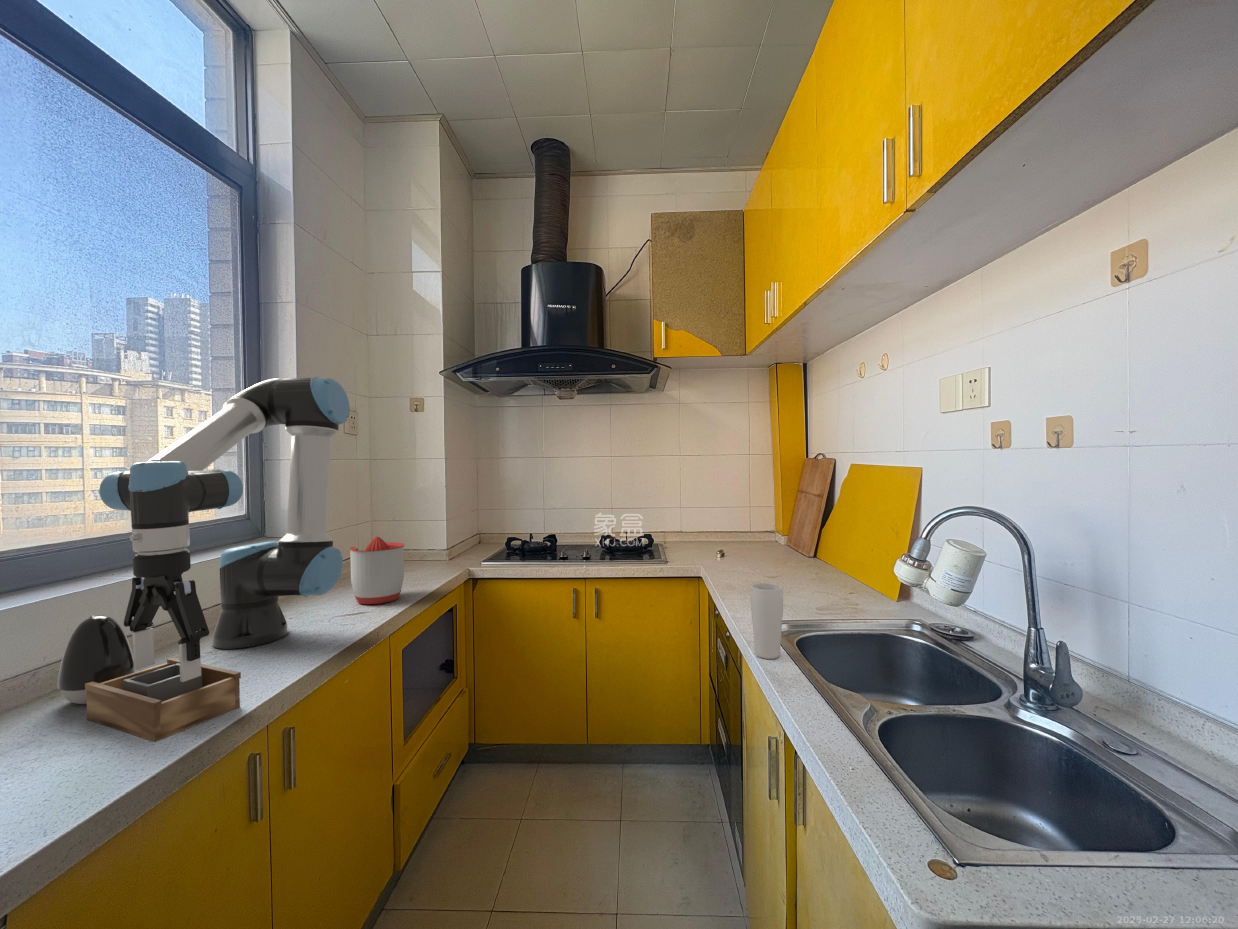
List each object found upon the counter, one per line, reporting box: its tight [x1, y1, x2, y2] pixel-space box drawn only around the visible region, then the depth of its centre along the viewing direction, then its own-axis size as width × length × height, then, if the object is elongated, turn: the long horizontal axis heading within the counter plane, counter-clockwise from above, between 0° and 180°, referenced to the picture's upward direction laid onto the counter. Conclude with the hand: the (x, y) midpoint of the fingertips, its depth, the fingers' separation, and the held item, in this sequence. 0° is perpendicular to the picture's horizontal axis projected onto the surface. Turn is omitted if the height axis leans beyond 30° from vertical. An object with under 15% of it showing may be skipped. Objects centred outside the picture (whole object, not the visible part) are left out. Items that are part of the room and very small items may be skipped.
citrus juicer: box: [349, 536, 405, 605], centre depth 165 cm, size 16×17×20 cm
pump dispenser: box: [57, 615, 136, 705], centre depth 98 cm, size 10×10×15 cm
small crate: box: [123, 663, 202, 702], centre depth 91 cm, size 8×7×6 cm
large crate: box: [85, 657, 242, 743], centre depth 92 cm, size 13×20×6 cm, turn 67°
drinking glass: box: [750, 582, 784, 660], centre depth 114 cm, size 7×7×15 cm
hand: (167, 672), depth 92 cm, fingers open, 13 cm apart
